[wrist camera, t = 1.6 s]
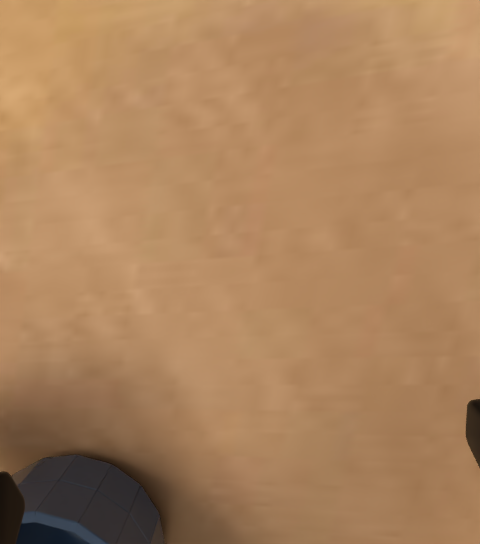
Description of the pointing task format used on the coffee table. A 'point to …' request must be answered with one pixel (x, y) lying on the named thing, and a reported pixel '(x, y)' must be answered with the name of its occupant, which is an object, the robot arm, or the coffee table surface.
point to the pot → (84, 504)
